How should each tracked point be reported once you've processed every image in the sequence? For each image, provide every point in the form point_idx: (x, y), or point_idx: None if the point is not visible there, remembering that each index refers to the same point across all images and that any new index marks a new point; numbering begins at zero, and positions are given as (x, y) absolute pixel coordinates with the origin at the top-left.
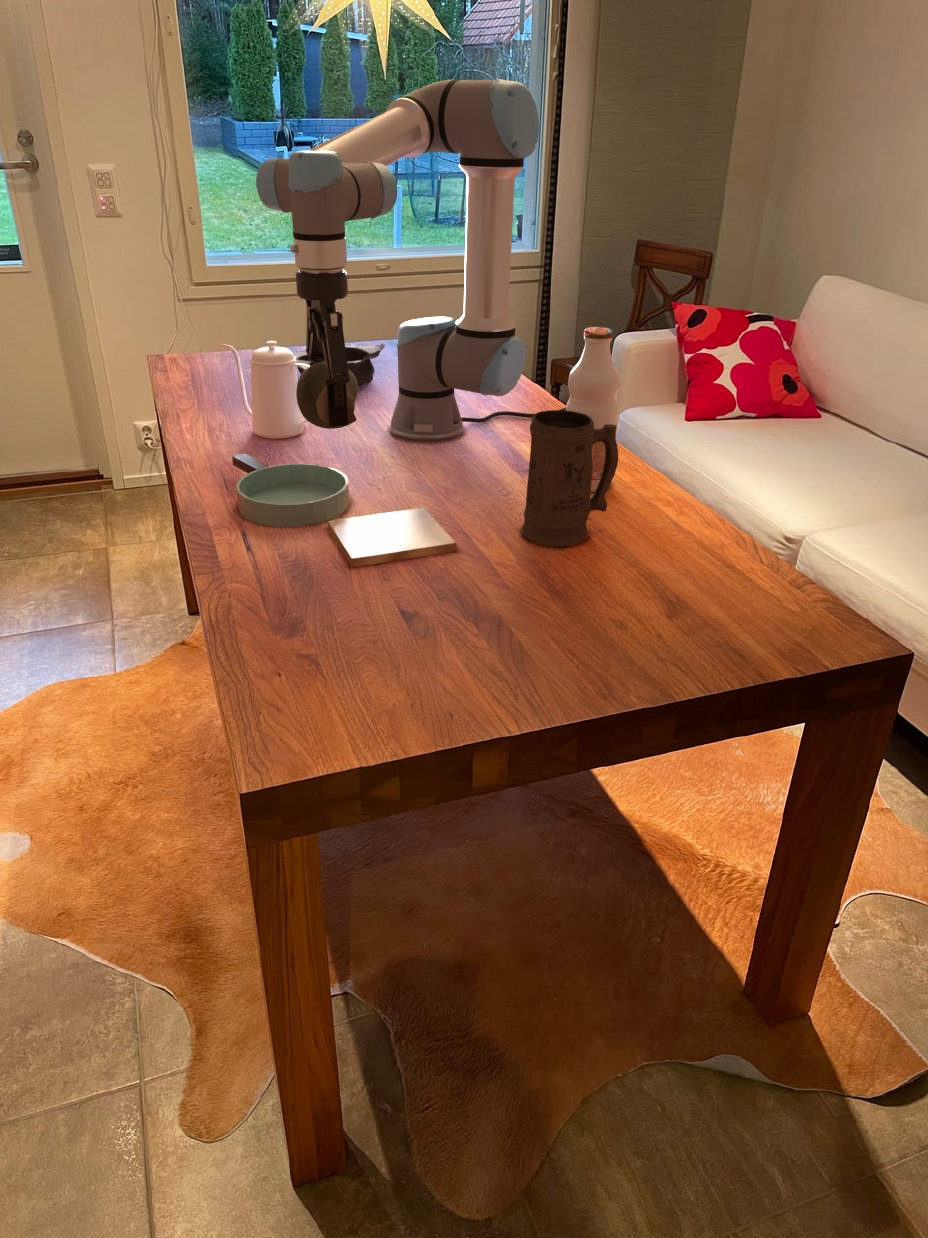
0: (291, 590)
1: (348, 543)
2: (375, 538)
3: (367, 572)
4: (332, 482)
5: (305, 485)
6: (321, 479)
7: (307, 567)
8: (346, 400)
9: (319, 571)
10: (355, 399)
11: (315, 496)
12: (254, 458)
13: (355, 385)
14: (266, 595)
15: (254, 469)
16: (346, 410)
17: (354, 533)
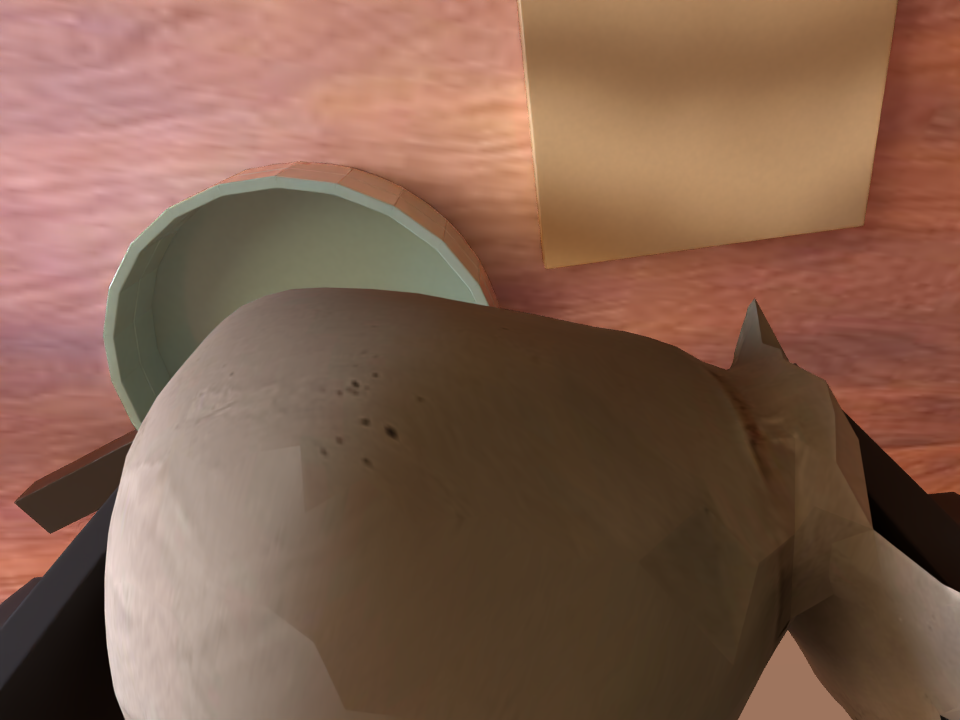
0: (896, 385)
1: (748, 222)
2: (747, 121)
3: (900, 174)
4: (188, 216)
5: (170, 301)
6: (158, 254)
7: (784, 339)
8: (916, 486)
9: (824, 311)
10: (520, 315)
11: (273, 277)
12: (64, 477)
13: (549, 383)
14: (890, 438)
15: None
16: (859, 432)
17: (676, 191)
